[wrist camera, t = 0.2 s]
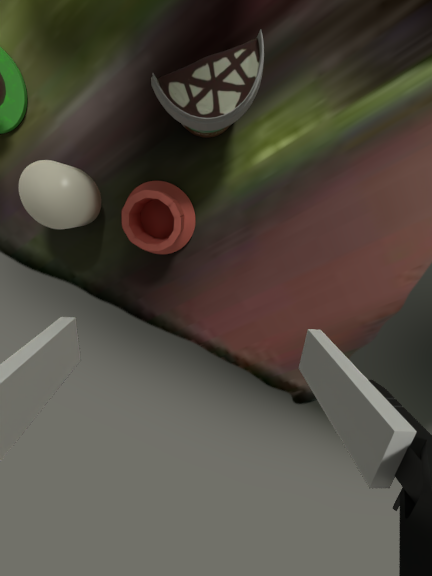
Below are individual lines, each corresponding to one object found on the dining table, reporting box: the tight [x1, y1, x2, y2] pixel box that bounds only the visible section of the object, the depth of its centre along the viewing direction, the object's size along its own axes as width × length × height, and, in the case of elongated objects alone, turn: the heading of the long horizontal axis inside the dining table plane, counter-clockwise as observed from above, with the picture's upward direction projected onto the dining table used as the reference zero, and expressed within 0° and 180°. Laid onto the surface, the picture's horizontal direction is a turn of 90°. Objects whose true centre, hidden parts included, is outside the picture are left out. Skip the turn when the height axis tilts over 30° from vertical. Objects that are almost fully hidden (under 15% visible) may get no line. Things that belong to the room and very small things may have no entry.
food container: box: [151, 30, 264, 138], centre depth 29 cm, size 12×6×10 cm, turn 109°
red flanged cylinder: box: [121, 181, 195, 254], centre depth 34 cm, size 11×11×7 cm
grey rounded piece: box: [19, 160, 101, 229], centre depth 32 cm, size 8×8×7 cm
